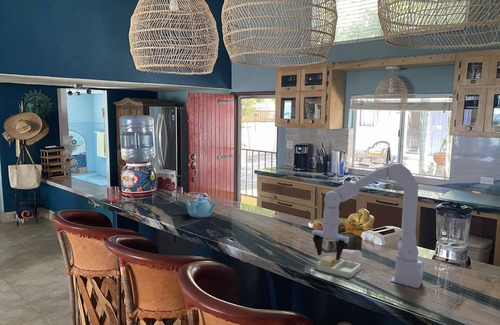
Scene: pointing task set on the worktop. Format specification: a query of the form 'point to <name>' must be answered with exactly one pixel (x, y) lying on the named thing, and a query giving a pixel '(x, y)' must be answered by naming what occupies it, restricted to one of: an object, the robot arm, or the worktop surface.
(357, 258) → the smoothie
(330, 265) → the maple block
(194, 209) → the teapot
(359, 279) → the worktop surface
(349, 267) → the tray
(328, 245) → the juice carton
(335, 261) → the terracotta ball
